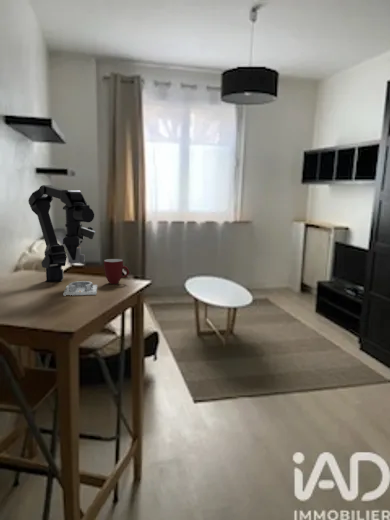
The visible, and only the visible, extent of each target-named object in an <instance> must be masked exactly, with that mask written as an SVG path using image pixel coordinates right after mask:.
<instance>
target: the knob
mask: <svg viewBox="0 0 390 520" xmlns="http://www.w3.org/2000/svg"><path fill="white" fill-rule="evenodd" d="M81 249H82V248H81V246H79V247H77V252H76V259H75V260H72V258H71V256H70V254H69V252H68V251H67V256H68V257H67V259H68V263H70V264H78V263H85V260H86V258H85V257H86V255H85V254H83V253H82V250H81Z"/></svg>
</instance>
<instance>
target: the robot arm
mask: <svg viewBox="0 0 390 520" xmlns="http://www.w3.org/2000/svg"><path fill="white" fill-rule="evenodd" d="M53 198H56V199H59V200H60V202H62V203H63V204H64V206H63V207H62V210H63V211H65V225H64V226H65V230H66V234H65V237H64V238H63V239H62V244H60V243H59V242H58V239H57V236H56V231H55V229H54V226H53V222H52V219H51V216H50V210H51V207H52V205H51V203H52V201H53V200H54V199H53ZM27 202H28V204H29V207H30V210H31V211H32V212H33V213H34V214H35V215H36V216H37V219H38V222H39V226H40V229H41V233H42V236H43V239H44V243H45V246H46V247H45V249H44V257H43V259H42V261H41V267H42V268H45V277H46V279H45V283H46V282H47V283H48V282H49V283H51V282H54V283H56V282H62V281H63V280H64V269H63V268H62V267H65V266H66V263H67V259H68V257H67V256H68V255H67V253H68V252H69V254H70V256H71V258H72V260H75V259H76V252H77V247H80V245H81V244H82V243H83V242H84V239H85V238H88V240H89V239H90V240H94V237H95V233H96V231H95V230H94V227H92V226H88V227H84V226H83V224H82V223H91V222H92V221H94V219H95V213H94V210H93V209H92V208H91V207H90V204H88V203H87V201H86V200H85V197H84V195H83V194H82V191H81V190H79V189H64V188H60V187H57V186H53V185H50V184H48V185H46V184H42V185H40V186H39V188H38V189H36V190H34V191H33V192H31V194H30V196H29V197H28V201H27ZM65 247H66V249H65ZM66 250H67V252H66Z"/></svg>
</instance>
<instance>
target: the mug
mask: <svg viewBox="0 0 390 520" xmlns="http://www.w3.org/2000/svg"><path fill="white" fill-rule="evenodd" d="M124 269H125V270H126V274H125V275H123V270H124ZM103 270H104V274H105V278H106V280H107V282H108V284H110V283H111V284H110V285H117V283H118V284H119V283H120V281H121V279H122V278H123V279H124V278H126V277H128V276H129V274H130V270H129V268H128V266H126V265H124V259H120V258H107V259H104V260H103Z"/></svg>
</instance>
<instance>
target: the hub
mask: <svg viewBox="0 0 390 520" xmlns="http://www.w3.org/2000/svg"><path fill="white" fill-rule="evenodd" d="M97 292H98V284H93V282H92V281H89V280H88V281H87V280H81V281H80V280H79V281H72V282H69V283H68V285H66V287H65V289H64V290H63V296H64V297H67V296H66V295H70V296H71V295H72V296H95V295H97Z"/></svg>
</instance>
